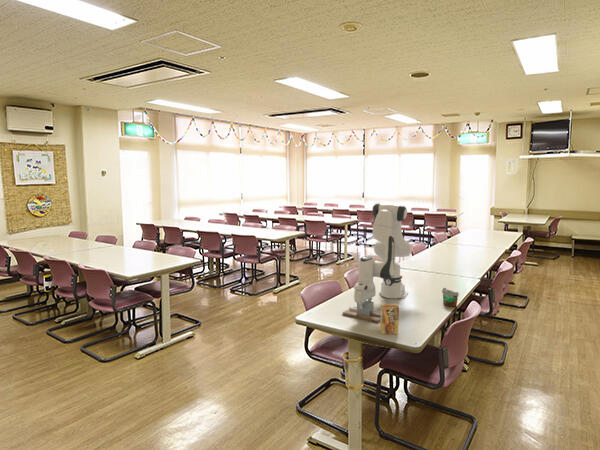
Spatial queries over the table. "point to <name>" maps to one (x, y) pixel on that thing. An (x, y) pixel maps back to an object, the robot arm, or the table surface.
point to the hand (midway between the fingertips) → (365, 306)
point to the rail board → (372, 318)
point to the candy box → (389, 319)
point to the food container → (450, 298)
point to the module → (366, 308)
